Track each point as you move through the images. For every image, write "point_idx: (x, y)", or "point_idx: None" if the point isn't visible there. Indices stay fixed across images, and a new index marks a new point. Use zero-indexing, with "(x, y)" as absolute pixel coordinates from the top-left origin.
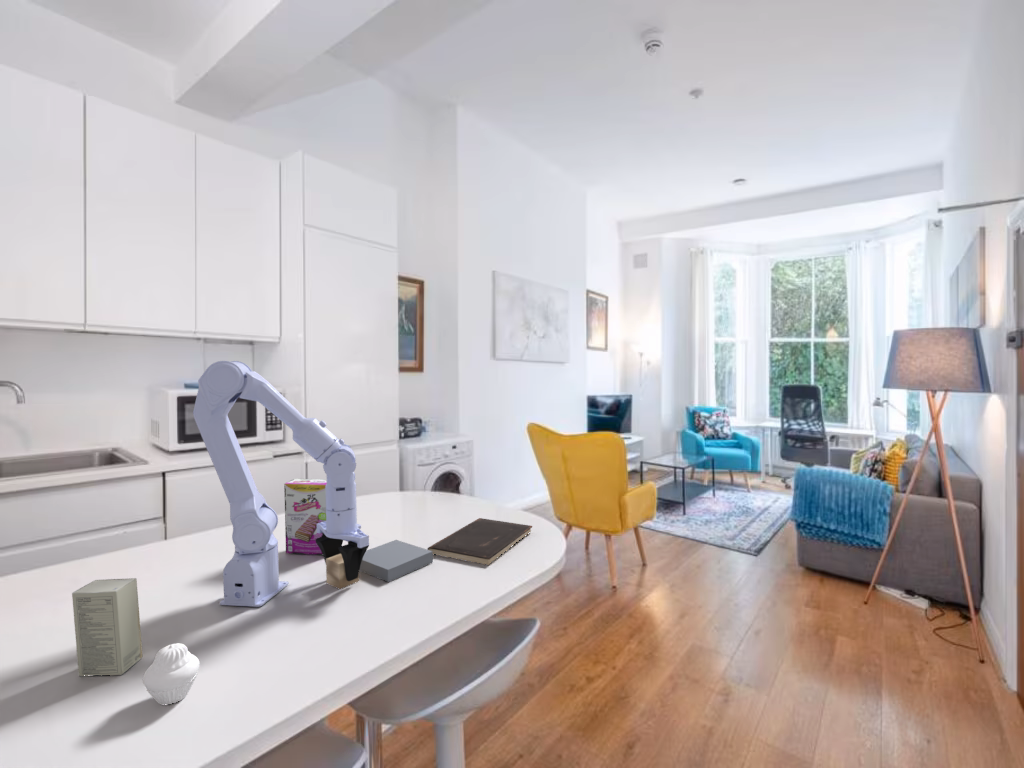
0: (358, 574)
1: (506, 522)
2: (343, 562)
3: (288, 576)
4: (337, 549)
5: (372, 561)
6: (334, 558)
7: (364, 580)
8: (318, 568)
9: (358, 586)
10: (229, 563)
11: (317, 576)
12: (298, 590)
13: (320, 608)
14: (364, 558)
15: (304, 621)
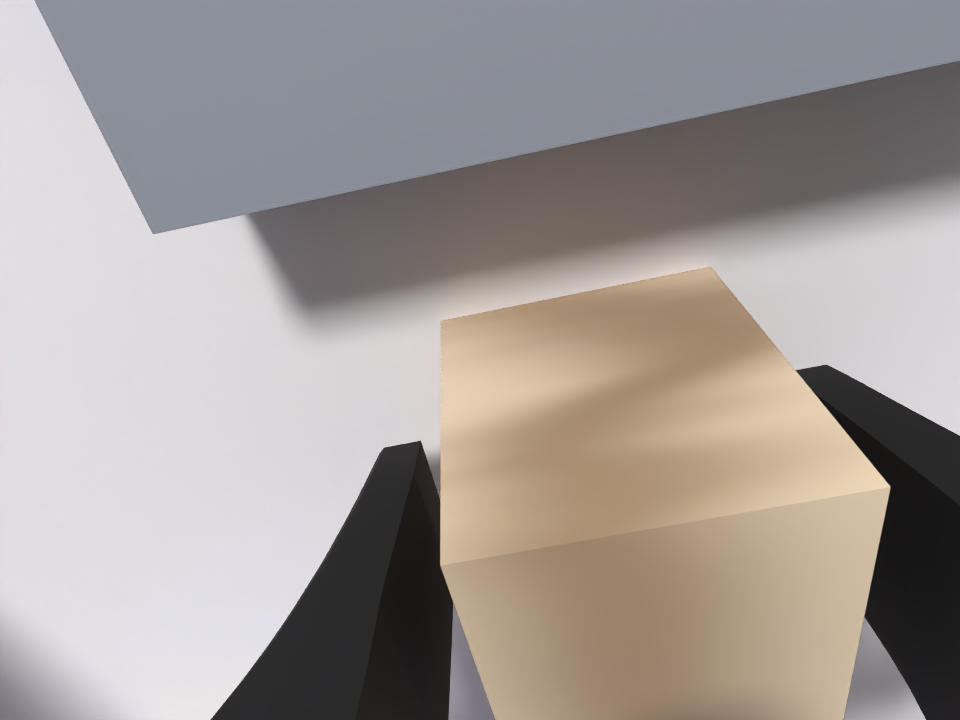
0: (744, 316)
1: None
2: (847, 682)
3: (126, 660)
4: (393, 716)
5: (718, 30)
6: (595, 717)
7: (748, 209)
8: (37, 465)
9: (822, 324)
10: None
11: (267, 521)
12: (465, 662)
13: (869, 632)
14: (445, 92)
15: (919, 709)
